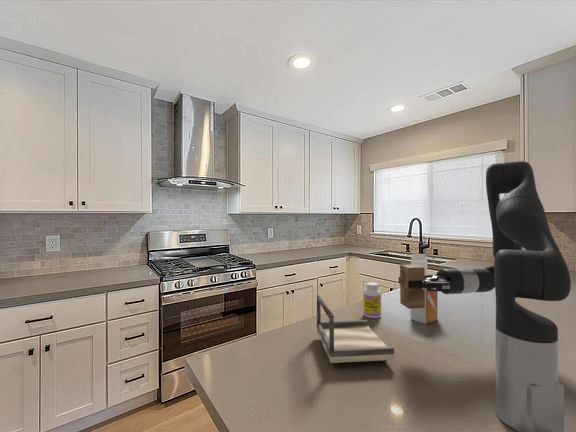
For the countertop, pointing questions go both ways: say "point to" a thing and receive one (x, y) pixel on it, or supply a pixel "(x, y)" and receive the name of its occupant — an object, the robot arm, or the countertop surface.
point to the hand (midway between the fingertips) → (403, 282)
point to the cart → (350, 339)
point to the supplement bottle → (372, 300)
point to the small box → (426, 309)
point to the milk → (420, 261)
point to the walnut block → (411, 296)
